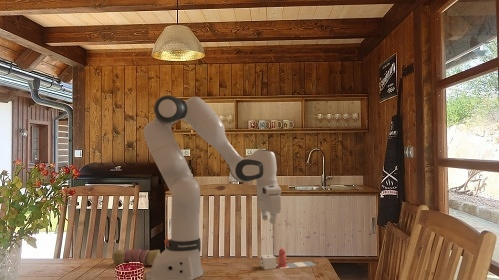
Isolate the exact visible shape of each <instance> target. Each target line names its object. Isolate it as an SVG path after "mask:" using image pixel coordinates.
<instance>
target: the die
mask: <svg viewBox="0 0 499 280" xmlns="http://www.w3.org/2000/svg"><path fill="white" fill-rule="evenodd" d="M276 264H277V256H275V255H274V254H263V255H260V266H261V268H262V269H263V270H274V269H277V265H276Z"/></svg>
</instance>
